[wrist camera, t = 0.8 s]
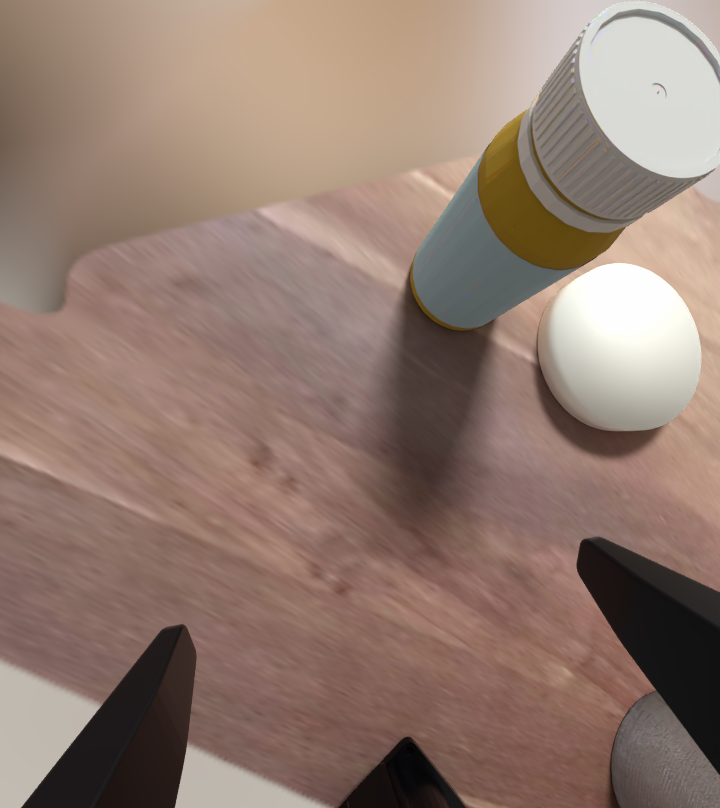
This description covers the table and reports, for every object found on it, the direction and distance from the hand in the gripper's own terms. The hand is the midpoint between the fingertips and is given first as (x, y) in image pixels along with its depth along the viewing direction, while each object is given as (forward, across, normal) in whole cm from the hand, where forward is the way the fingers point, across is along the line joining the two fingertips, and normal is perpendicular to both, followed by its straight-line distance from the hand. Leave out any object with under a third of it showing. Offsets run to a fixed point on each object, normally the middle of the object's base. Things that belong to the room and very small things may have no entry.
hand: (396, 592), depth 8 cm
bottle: (+20, -10, -4) cm, 23 cm away
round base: (+18, -21, +2) cm, 28 cm away
